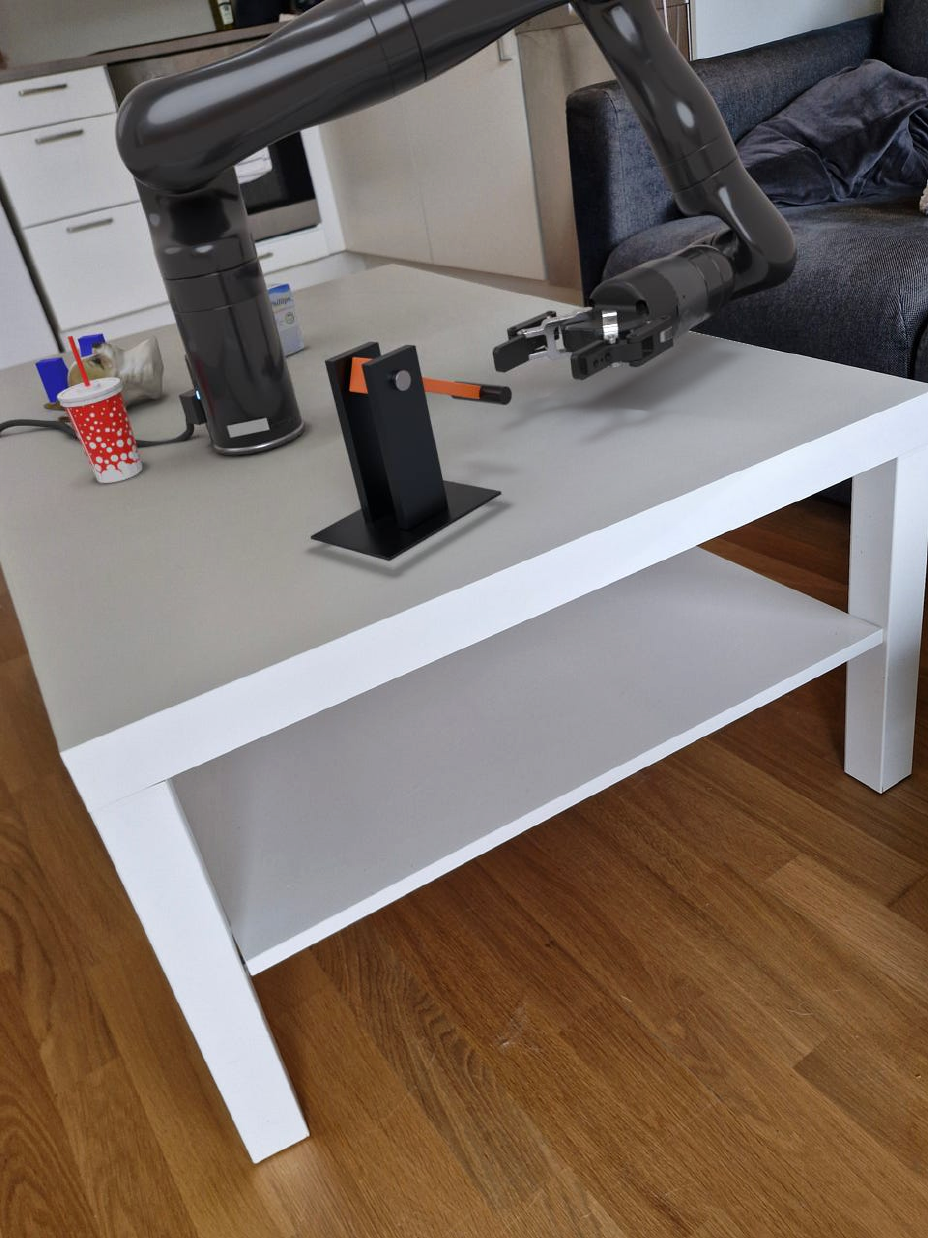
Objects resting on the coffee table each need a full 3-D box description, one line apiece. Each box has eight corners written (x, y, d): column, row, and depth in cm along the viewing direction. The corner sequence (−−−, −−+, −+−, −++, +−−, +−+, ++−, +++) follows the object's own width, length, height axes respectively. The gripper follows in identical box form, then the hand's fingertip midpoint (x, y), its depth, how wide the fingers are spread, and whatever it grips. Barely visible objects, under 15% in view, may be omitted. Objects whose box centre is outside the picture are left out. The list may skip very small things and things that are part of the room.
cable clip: (89, 380, 143) (73, 337, 140) (117, 376, 142) (102, 333, 139) (42, 410, 133) (24, 364, 130) (72, 406, 132) (55, 360, 129)
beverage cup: (161, 465, 104) (114, 327, 98) (108, 489, 101) (55, 348, 94) (130, 458, 108) (83, 325, 102) (79, 481, 105) (25, 345, 98)
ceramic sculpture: (161, 327, 120) (36, 373, 115) (189, 397, 125) (69, 444, 119) (139, 317, 129) (21, 360, 124) (165, 383, 133) (52, 427, 128)
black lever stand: (424, 489, 86) (388, 324, 79) (504, 506, 80) (473, 329, 73) (314, 551, 79) (265, 376, 73) (392, 574, 73) (347, 386, 67)
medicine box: (243, 356, 139) (225, 291, 135) (268, 346, 142) (251, 281, 137) (281, 359, 134) (263, 291, 130) (306, 348, 137) (289, 281, 132)
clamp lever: (459, 405, 84) (463, 375, 84) (510, 412, 81) (514, 380, 80) (334, 389, 75) (337, 355, 74) (384, 395, 71) (388, 360, 71)
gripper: (581, 265, 98) (464, 316, 89) (713, 265, 88) (598, 322, 79) (590, 344, 101) (479, 400, 92) (718, 352, 92) (608, 416, 83)
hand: (534, 364), depth 86 cm, fingers open, 8 cm apart
